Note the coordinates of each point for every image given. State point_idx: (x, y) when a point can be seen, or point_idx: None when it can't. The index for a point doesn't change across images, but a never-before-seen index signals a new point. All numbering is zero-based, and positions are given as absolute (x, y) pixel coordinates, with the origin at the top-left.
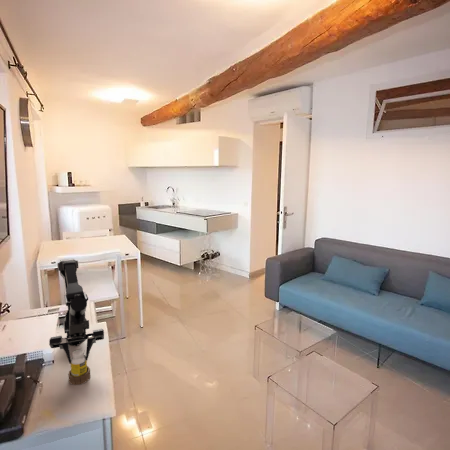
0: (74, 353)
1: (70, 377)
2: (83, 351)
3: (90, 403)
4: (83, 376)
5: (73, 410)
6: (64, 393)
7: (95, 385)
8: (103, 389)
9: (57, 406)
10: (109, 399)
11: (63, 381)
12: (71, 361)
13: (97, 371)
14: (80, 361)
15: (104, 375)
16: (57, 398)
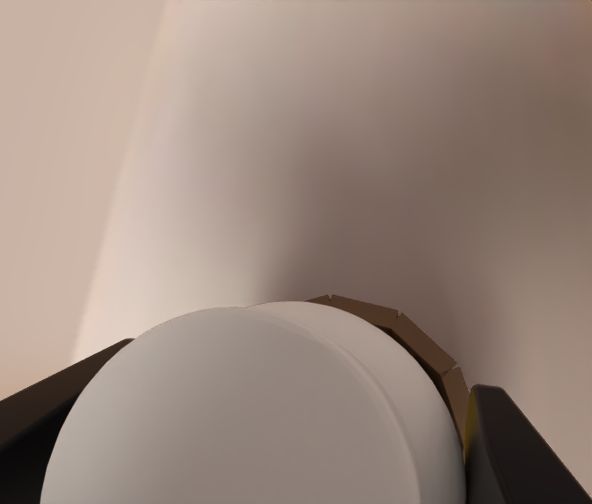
0: (348, 477)
1: (454, 363)
2: (64, 458)
3: (295, 34)
4: None
5: (427, 3)
6: (511, 240)
7: (216, 232)
8: (170, 151)
9: (567, 85)
10: (163, 30)
11: None
12: (449, 420)
13: None
14: (258, 307)
15: None
16: (580, 192)
